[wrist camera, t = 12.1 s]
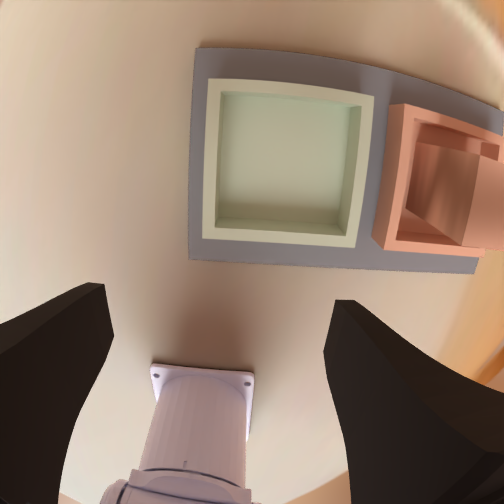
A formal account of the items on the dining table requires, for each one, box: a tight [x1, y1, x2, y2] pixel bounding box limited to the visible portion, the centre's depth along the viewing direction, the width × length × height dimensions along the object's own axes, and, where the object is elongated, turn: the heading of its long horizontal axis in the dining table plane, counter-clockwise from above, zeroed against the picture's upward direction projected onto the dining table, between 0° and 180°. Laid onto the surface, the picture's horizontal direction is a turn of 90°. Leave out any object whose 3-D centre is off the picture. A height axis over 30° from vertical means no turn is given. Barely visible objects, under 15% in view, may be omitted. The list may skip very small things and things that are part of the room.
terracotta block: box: [405, 142, 504, 251], centre depth 13 cm, size 4×4×6 cm
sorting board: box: [188, 48, 504, 274], centre depth 15 cm, size 12×20×3 cm, turn 86°
